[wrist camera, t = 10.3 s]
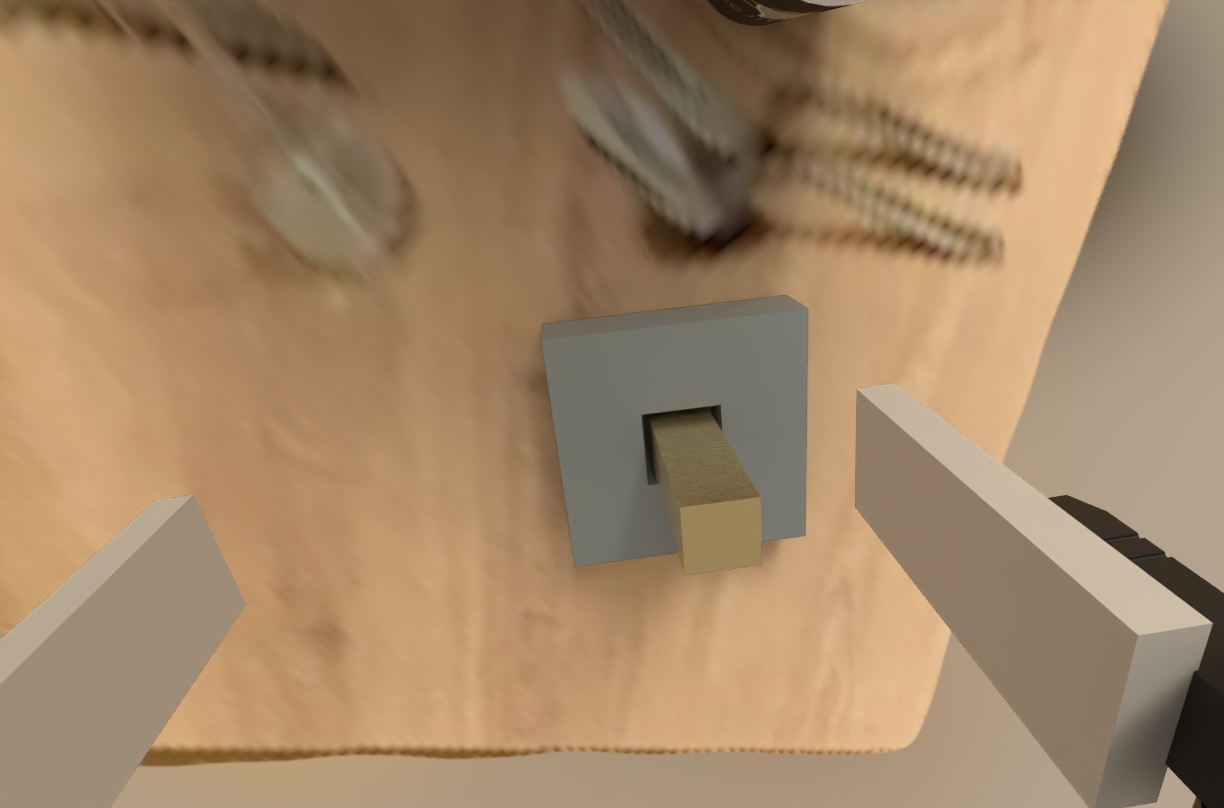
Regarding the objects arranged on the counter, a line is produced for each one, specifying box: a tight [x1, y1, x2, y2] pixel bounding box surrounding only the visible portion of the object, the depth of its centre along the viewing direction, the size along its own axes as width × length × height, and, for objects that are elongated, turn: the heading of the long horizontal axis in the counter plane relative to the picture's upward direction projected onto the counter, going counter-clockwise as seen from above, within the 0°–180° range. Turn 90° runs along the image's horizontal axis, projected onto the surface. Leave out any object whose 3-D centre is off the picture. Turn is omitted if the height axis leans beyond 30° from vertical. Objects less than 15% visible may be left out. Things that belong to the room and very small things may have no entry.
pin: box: [645, 407, 762, 575], centre depth 32 cm, size 3×3×12 cm
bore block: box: [541, 295, 808, 566], centre depth 37 cm, size 14×14×4 cm
